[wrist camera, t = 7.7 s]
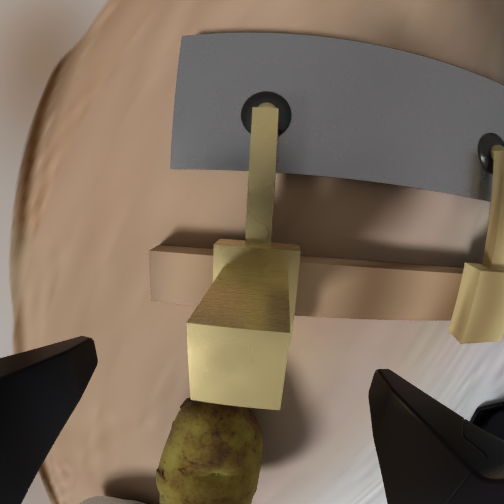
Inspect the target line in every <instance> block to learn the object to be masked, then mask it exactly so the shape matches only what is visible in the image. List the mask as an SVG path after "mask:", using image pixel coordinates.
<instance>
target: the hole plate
mask: <svg viewBox="0 0 504 504" xmlns="http://www.w3.org/2000/svg"><path fill="white" fill-rule="evenodd" d="M262 103H271V104H273V105H274V106H275V107H276V108H279V121H278V140H277V158H276V173H288V174H301V175H313V176H324V177H334V178H343V179H352V180H361V181H369V182H377V183H385V184H392V185H399V186H406V187H412V188H419V189H425V190H431V191H437V192H443V193H448V194H454V195H459V196H464V197H470V198H475V199H479V200H484V201H489V202H491V197H492V185H493V165H494V160H493V159H492V157H491V153H490V151H491V147H492V146H494V145H501V146H503V147H504V85H501V84H499V83H497V82H495V81H492V80H490V79H488V78H485V77H483V76H480V75H478V74H475V73H472V72H470V71H467V70H464V69H462V68H459V67H456V66H453V65H450V64H447V63H444V62H441V61H438V60H434V59H431V58H428V57H424V56H421V55H417V54H413V53H409V52H405V51H401V50H397V49H393V48H388V47H384V46H379V45H374V44H369V43H363V42H357V41H351V40H344V39H337V38H330V37H321V36H311V35H299V34H284V33H215V34H199V35H188V36H182V40H181V47H180V55H179V64H178V73H177V82H176V92H175V103H174V115H173V129H172V144H171V164H170V169H204V170H235V171H249V159H250V141H251V124H252V107H258V106H259V105H260V104H262Z"/></svg>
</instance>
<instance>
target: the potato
mask: <svg viewBox="0 0 504 504" xmlns="http://www.w3.org/2000/svg"><path fill="white" fill-rule="evenodd" d="M180 408H181V410H180V411H179V413H178V415H177V417H176V419H175V421H173V424H172V429H171V432H170V434H169V437H168V439H167V442H166V444H165V447H164V450H163V453H162V456H161V459H160V463H159V467H158V469H157V474H156V485H157V489H158V491H159V493H160V499H159V502H160V504H251V502H252V498H253V496H254V494H255V492H256V490H257V484H258V478H259V472H260V469H261V464H262V458H263V439H262V433H261V430H260V427H259V425H258V423H257V420H256V418H255V417H254V415H253V414H252V412H251V411H250V410H249V408H248V407H239V406H231V405H223V404H215V403H208V402H202V401H196V400H191V398H187V399H186V400H185V401H184V402H183V404H182V405H181V406H180Z"/></svg>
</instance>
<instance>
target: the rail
mask: <svg viewBox="0 0 504 504" xmlns="http://www.w3.org/2000/svg"><path fill="white" fill-rule="evenodd" d="M490 153H491V157H492V159H493V160H494V165H493V185H492V197H491V208H490V216H489V224H488V232H487V238H486V244H485V250H484V256H483V261H482V264H478V263H466V262H465V264H464V268H458V267H445V266H432V265H419V264H405V263H392V262H379V261H366V260H352V259H339V258H326V257H312V256H300V265H299V275H298V285H297V294H296V304H295V313H294V315H297V316H312V317H330V318H351V319H378V320H451V323H450V326H449V330H448V331H449V332H450V333H451V334H452V335H453V336H454V337H455V338H456V339H457V340H458V341H459V342H460V344H466V343H481V342H493V341H501V340H502V337H503V334H504V147H503V146H501V145H494V146H492V147H491V151H490ZM213 250H214V249H206V248H193V247H180V246H166V245H158V246H156V247H155V248H153V249H151V250H149V259H150V285H151V301H157V302H164V303H172V304H180V305H189V306H198V305H199V303H200V301H201V300H202V298H203V297H204V295H205V294H206V292H207V291H208V289H209V288H210V286H211V285H212V283H213Z"/></svg>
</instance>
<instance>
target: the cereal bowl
mask: <svg viewBox="0 0 504 504" xmlns="http://www.w3.org/2000/svg"><path fill="white" fill-rule="evenodd" d="M80 504H145V503H142V502H139V501H134V500H123V499H120V498H114V497H108V496H97V497H92V498H89V499H86V500H84V501H83V502H81V503H80Z"/></svg>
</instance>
